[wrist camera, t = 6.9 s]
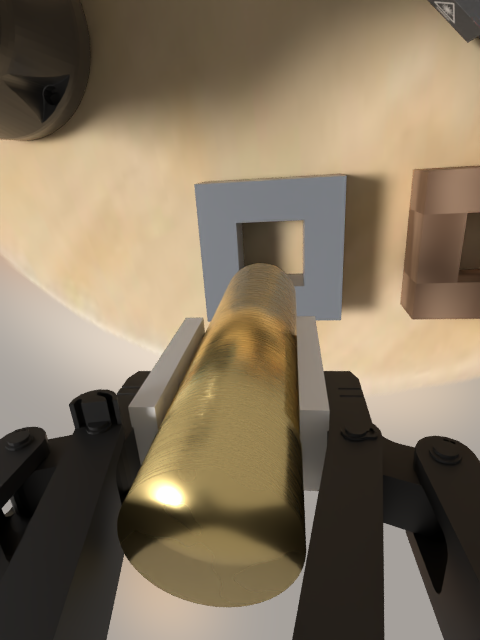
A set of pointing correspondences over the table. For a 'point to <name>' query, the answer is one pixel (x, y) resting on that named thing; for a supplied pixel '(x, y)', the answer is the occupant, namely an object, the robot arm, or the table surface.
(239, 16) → the table surface
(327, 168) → the table surface
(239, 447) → the brass pin
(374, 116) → the table surface
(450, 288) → the dock block
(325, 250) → the mount block
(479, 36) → the laser sight
